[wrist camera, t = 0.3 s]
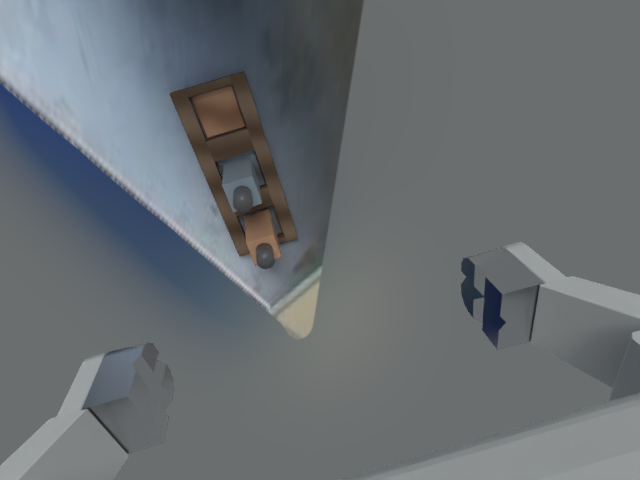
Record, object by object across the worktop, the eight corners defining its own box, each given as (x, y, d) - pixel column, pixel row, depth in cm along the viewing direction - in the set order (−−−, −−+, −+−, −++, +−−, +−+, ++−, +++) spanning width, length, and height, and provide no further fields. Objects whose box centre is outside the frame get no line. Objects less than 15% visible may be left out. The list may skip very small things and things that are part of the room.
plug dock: (171, 92, 49) (169, 94, 48) (244, 71, 50) (244, 72, 48) (239, 252, 62) (239, 256, 61) (296, 234, 63) (297, 238, 62)
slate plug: (223, 163, 55) (221, 193, 45) (250, 155, 55) (253, 184, 45) (233, 188, 57) (233, 222, 47) (258, 180, 57) (263, 212, 47)
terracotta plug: (244, 215, 60) (246, 253, 49) (268, 208, 60) (275, 244, 49) (252, 236, 62) (256, 277, 51) (276, 229, 62) (284, 268, 52)
